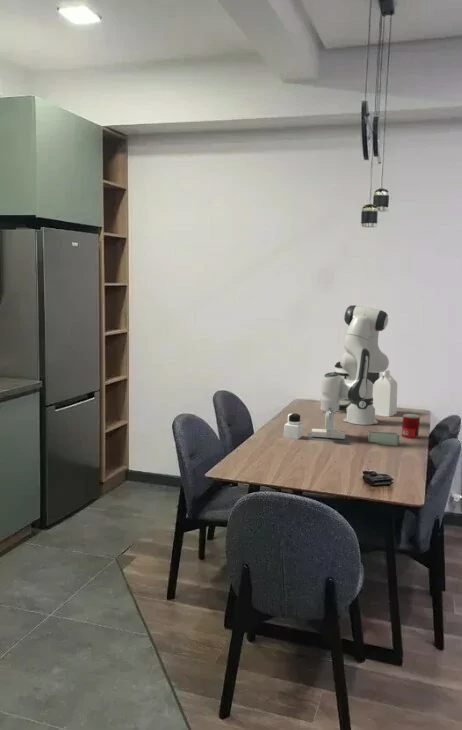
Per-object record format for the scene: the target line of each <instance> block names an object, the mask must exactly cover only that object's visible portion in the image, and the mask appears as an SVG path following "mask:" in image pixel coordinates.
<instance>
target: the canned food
mask: <svg viewBox="0 0 462 730" xmlns="http://www.w3.org/2000/svg"><path fill="white" fill-rule="evenodd" d="M402 415H403V417H402V428H401V429H402V430H401V436H402V437H403V438H406V439H413V438H414V439H418V438H419V431H420V420H421V419H420V418H421V416H420V415H418V414H415V413H414V414H413V413H404V414H402Z"/></svg>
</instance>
